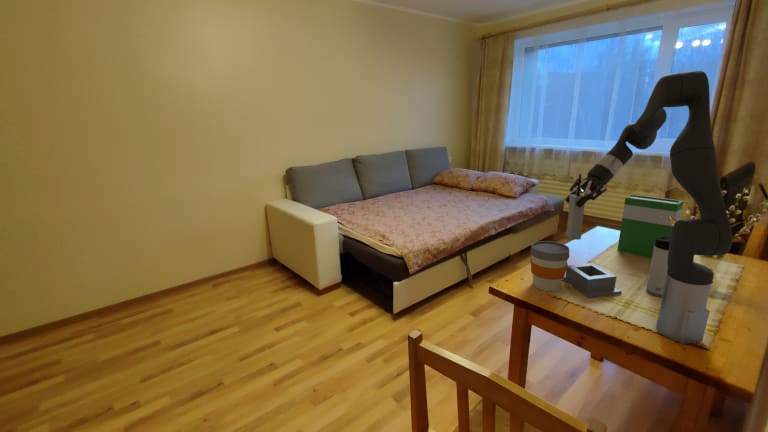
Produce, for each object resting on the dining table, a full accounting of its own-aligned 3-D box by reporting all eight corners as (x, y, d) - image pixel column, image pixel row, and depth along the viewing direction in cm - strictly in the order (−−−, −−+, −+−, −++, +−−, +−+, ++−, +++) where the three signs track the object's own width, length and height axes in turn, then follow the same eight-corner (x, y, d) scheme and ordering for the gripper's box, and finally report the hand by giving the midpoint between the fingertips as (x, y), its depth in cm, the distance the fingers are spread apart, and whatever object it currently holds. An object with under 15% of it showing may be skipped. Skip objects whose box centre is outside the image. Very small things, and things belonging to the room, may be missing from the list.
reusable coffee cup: (552, 297, 119) (556, 256, 115) (520, 284, 129) (523, 246, 125) (573, 286, 126) (577, 247, 121) (541, 274, 136) (544, 238, 131)
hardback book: (617, 250, 154) (625, 197, 148) (623, 245, 159) (631, 194, 152) (666, 261, 141) (678, 204, 134) (672, 256, 146) (683, 200, 139)
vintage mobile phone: (575, 235, 138) (581, 172, 131) (580, 239, 133) (588, 174, 126) (565, 235, 138) (571, 172, 131) (570, 239, 134) (577, 175, 127)
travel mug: (660, 299, 115) (671, 242, 109) (641, 290, 121) (651, 235, 115) (675, 296, 116) (687, 239, 111) (655, 287, 122) (665, 233, 117)
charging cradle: (621, 294, 119) (623, 279, 117) (589, 298, 118) (591, 282, 116) (588, 273, 134) (590, 260, 133) (559, 277, 133) (561, 263, 131)
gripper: (585, 161, 136) (554, 193, 138) (614, 166, 122) (579, 202, 124) (596, 173, 138) (565, 205, 140) (625, 179, 124) (591, 215, 126)
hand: (572, 203), depth 132 cm, fingers closed on vintage mobile phone, 5 cm apart
